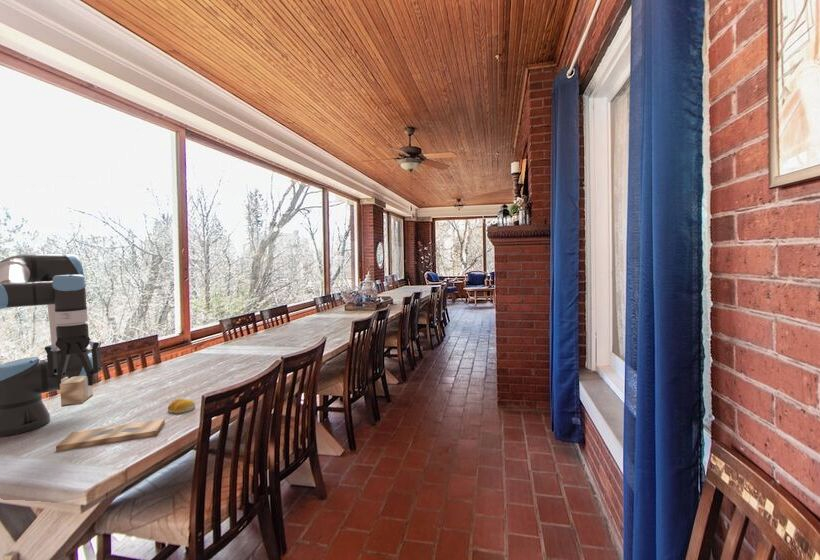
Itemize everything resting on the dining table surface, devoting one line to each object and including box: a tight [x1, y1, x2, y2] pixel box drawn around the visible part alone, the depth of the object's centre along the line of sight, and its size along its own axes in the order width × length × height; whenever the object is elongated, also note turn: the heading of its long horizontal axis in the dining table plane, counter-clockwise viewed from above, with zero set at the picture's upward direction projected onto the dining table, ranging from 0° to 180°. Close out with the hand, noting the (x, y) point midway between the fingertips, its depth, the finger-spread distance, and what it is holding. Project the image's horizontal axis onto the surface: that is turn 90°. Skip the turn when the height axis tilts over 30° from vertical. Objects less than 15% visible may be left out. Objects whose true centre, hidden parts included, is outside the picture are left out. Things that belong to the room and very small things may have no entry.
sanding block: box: [59, 375, 94, 408], centre depth 120 cm, size 5×8×7 cm, turn 21°
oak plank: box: [55, 418, 166, 452], centre depth 124 cm, size 26×10×2 cm, turn 111°
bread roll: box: [167, 398, 196, 414], centre depth 145 cm, size 8×9×4 cm
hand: (77, 397), depth 120 cm, fingers closed on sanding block, 5 cm apart
